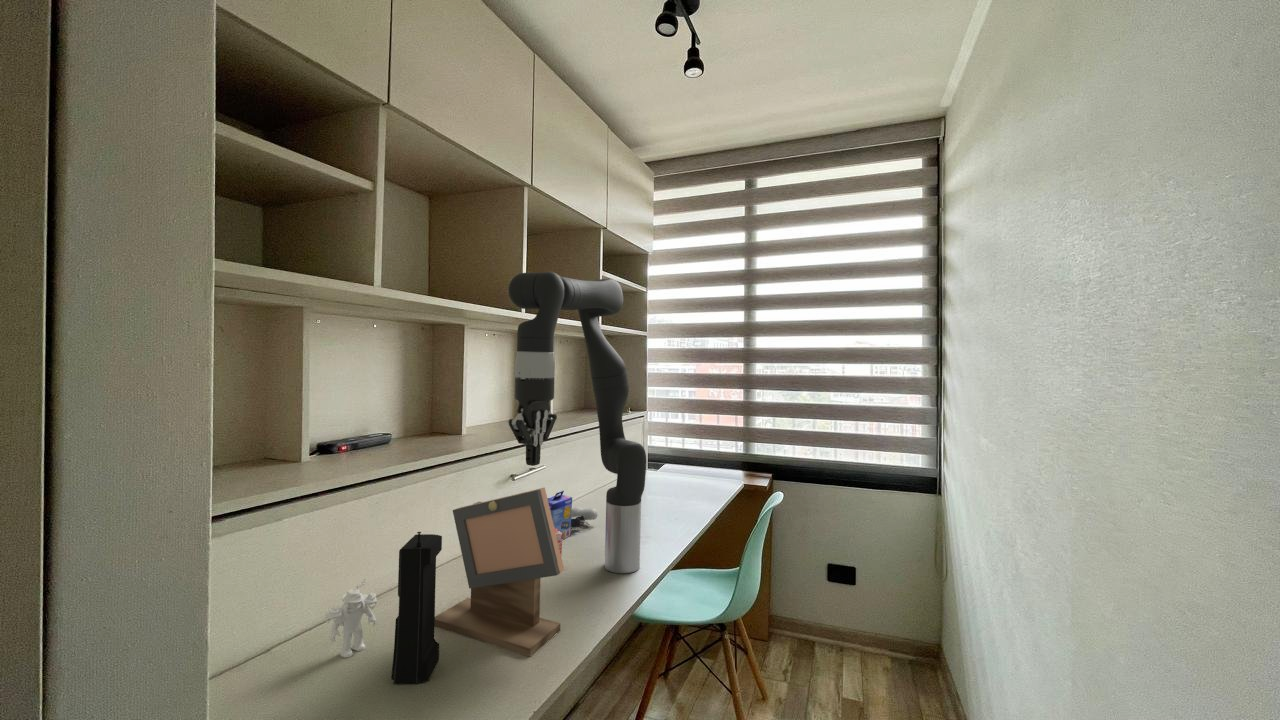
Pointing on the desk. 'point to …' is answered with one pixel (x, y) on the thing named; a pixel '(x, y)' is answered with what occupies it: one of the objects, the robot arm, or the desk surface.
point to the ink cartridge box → (561, 513)
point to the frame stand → (502, 617)
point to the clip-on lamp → (582, 516)
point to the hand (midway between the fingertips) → (532, 464)
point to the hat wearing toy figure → (351, 619)
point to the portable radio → (416, 611)
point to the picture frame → (508, 539)
